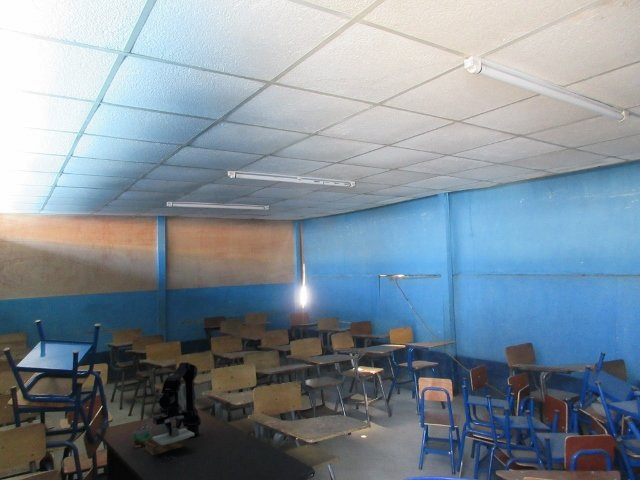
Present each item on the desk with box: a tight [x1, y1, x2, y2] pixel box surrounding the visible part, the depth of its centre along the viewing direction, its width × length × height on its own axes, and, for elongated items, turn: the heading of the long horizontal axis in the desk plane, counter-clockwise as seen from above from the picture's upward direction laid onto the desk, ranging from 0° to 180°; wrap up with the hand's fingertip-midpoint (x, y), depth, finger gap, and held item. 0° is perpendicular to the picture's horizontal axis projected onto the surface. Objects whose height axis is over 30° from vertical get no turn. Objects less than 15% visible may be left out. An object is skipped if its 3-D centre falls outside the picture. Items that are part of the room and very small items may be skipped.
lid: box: [151, 425, 194, 445], centre depth 220 cm, size 17×12×6 cm
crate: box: [144, 439, 184, 456], centre depth 228 cm, size 16×11×5 cm
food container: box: [132, 422, 153, 449], centre depth 236 cm, size 12×6×10 cm, turn 168°
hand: (173, 434), depth 220 cm, fingers closed on lid, 3 cm apart
